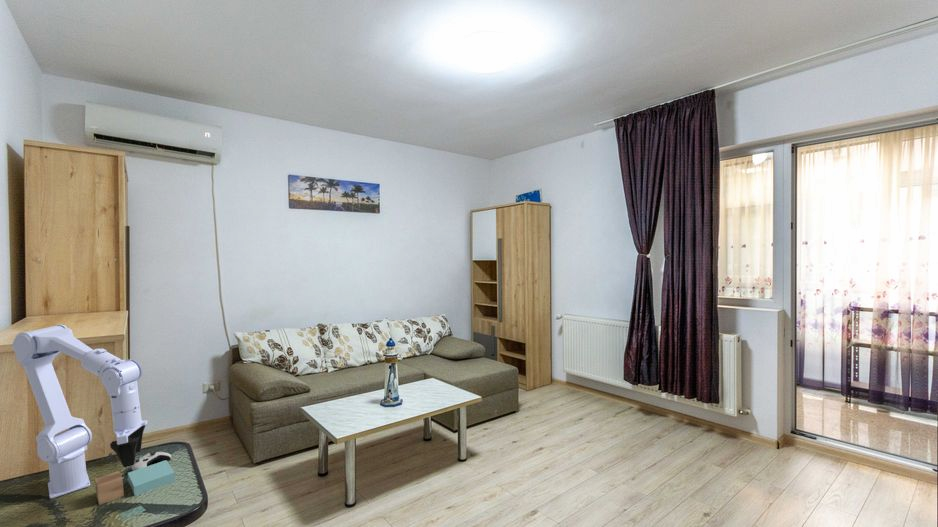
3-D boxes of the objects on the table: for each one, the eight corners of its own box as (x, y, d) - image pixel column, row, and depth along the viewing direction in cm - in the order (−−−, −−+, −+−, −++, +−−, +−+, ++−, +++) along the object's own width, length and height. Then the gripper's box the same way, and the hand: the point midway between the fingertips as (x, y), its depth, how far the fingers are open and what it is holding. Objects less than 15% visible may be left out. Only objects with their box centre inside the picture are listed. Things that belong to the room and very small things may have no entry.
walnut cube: (96, 496, 114) (94, 478, 114) (120, 488, 118) (119, 470, 117) (99, 505, 111) (97, 486, 110) (123, 496, 114) (122, 478, 114)
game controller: (145, 474, 123) (131, 458, 123) (135, 485, 124) (121, 469, 124) (174, 456, 132) (162, 441, 132) (165, 467, 133) (152, 452, 134)
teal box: (128, 483, 121) (127, 472, 120) (167, 469, 127) (166, 459, 127) (134, 497, 114) (134, 486, 114) (175, 482, 121) (174, 472, 121)
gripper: (139, 415, 107) (145, 467, 109) (150, 395, 120) (155, 442, 121) (103, 422, 104) (110, 476, 105) (118, 401, 117) (124, 449, 118)
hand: (132, 458), depth 113 cm, fingers open, 7 cm apart
